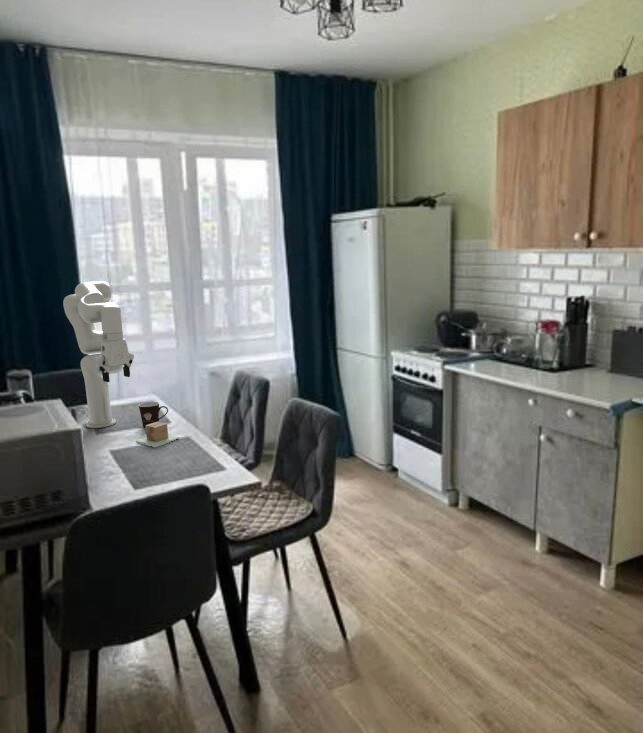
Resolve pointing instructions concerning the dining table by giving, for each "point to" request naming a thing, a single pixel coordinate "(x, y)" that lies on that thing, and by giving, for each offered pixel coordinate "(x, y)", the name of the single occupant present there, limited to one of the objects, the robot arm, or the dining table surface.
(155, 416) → the coffee mug
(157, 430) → the walnut cube
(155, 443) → the green tile
